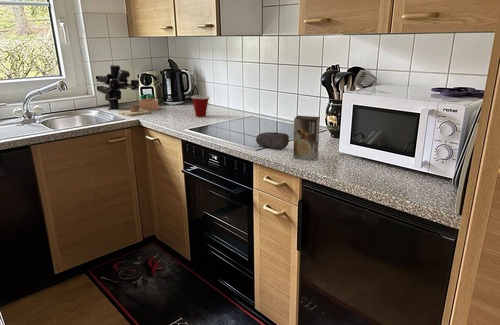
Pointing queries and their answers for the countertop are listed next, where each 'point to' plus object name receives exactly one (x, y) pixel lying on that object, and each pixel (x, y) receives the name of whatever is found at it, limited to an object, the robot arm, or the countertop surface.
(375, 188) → the countertop surface
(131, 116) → the mat
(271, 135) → the perforated stone tool
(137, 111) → the lid
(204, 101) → the plastic cup
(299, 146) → the coffee box
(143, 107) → the bowl
